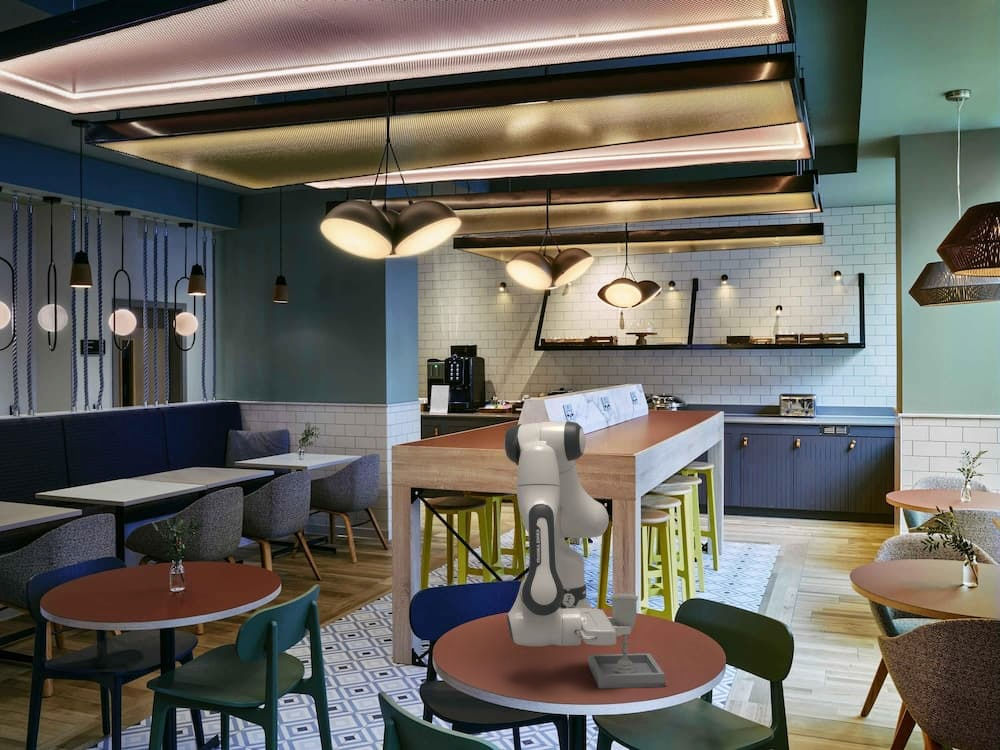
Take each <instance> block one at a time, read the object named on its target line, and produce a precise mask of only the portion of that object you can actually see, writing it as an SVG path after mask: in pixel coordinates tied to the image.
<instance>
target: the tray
mask: <svg viewBox="0 0 1000 750" xmlns="http://www.w3.org/2000/svg"><path fill="white" fill-rule="evenodd" d="M587 657H588V659H587V660H588V662H587V663H588V664H587V665H588V669H589V670H590V673H591V675H592V677H593V679H594V682H595V683H596V686H597V688H598V689H599V688H600V689H627V688H629V689H630V688H631V689H632V688H633V689H634V688H635V689H636V688H637V689H638V688H665V687H666V676H665V675H666V673H664V671H663V669H662V668H661V667H660V666H659V664H658V663H657V661H656V660H655V659H654V657H653V656H652V654H651V653H650V652H648V653H627V658H628V660H631V662H632V664H633V666H634V669H635V672H633V673H619V672H616V671H615V668H616V665H617V662H618V661H619V660H620V659H622V658H623V653H611V654H609V653H608V654H607V653H606V654H588V655H587Z"/></svg>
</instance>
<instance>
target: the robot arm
mask: <svg viewBox="0 0 1000 750" xmlns="http://www.w3.org/2000/svg"><path fill="white" fill-rule="evenodd" d="M503 440H504V441H503V446H504V450H505V454H506V456H507V458H508V459H509V460H510V461H511V462H512V463H514V464H515V465H516V466H517V475H516V498H517V505H518V510H519V514H520V516H521V522H522V525H523V528H524V529H525V530H526V532H527V533H528V535H527V536H528V548H529V549H528V555H529V556H528V559H529V566H528V567H529V568H528V573H527V575H526V576H524V578H523V579H522V581H521V583H520V586H519V590H518V593H517V596H516V599H515V602H514V603H513V605H512V607H511V609H510V610H509V611H508V612H507V615H506V621H507V622H506V623H507V628H508V634H509V637H510V638H511V640H512V641H513V643H515V645H519V646H522V647H523V646H526V647H545V646H549V645H556V646H559V647H571V646H572V647H573V646H574V647H575V646H577V647H579V646H581V644H582V641H583V642H584V644H586V645H591V646H614V645H616V644H617V637H620V636H622V635H623V634H628V635H630V634H631V633H632V630H631V627H630V626H629V625H623V626H619V627H617V626H616V625H615V623H614V620H613V617H612V616H607V615H606V613H605V611H604V610H603V609H599V608H592V604H591V602H590V601H588V600H587V598H586V597H587V585H586V583H585V560H584V558H583V556H582V555H581V554H580V552H578V551H577V550H575V549H573V548H571V547H570V546H569V544H568V543H567V541H566V539H565V538H569V539H570V538H573V539H590V538H591V539H592V538H593V539H594V538H597V537H602V536H603V535H604V534H605V532H606V531H607V529H608V527H609V521H610V520H609V518H610V517H609V514H608V511H607V508H606V507H605V506H604V505H603V504H602V503H601V502H599V501H597V500H596V499H594V498H593V497H592V496H591V495H590V494H588V493H587V492H586V490H585V488H584V487H583V486H582V484H581V482H580V479H579V475H578V471H577V466H576V460H578V459H580V458H581V457H582V456H583V455H584V451H585V448H586V444H587V443H586V441H587V440H586V434H585V432H584V430H583V426H581V425H580V424H579V423H578V422H575V421H570V420H569V421H541V422H540V421H539V422H531V423H530V422H529V423H527V424H526V423H525V424H521V423H518V424H515V425H512V426H509V428H508V429H507V430H506V431H505V435H504V439H503Z"/></svg>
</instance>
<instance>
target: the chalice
mask: <svg viewBox="0 0 1000 750" xmlns="http://www.w3.org/2000/svg"><path fill="white" fill-rule="evenodd" d="M610 599H611V605H612V609H611V610H612V612H611V614H612V615H611V617H613V620H614V623H615V625H616V626H617V627H619V626H623V625H629V626H630V627H631V631H632V630H633V628H634V626H635V624H636V620H637V616H638V615H637V610H638V609H637V606H638V605H637V602H638V600H639V596H638V595H636V594H633V593H632V594H631V593H617V594H616V593H615V594H613V595H610ZM628 635H629V634H623V635H621V636H622V641H621V645H622V649H621V650H620V651H621V652H622V654H623V658H622V659H620V660H619V661H618V662H617V665H616V668H615V671H616V672H619V673H633V672H635V669H634V666H633V664H632V662H631V660H628V658H627V654H628V652H629V649H628V647H627V646H628V644H629V642H628V639H627V636H628Z"/></svg>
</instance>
